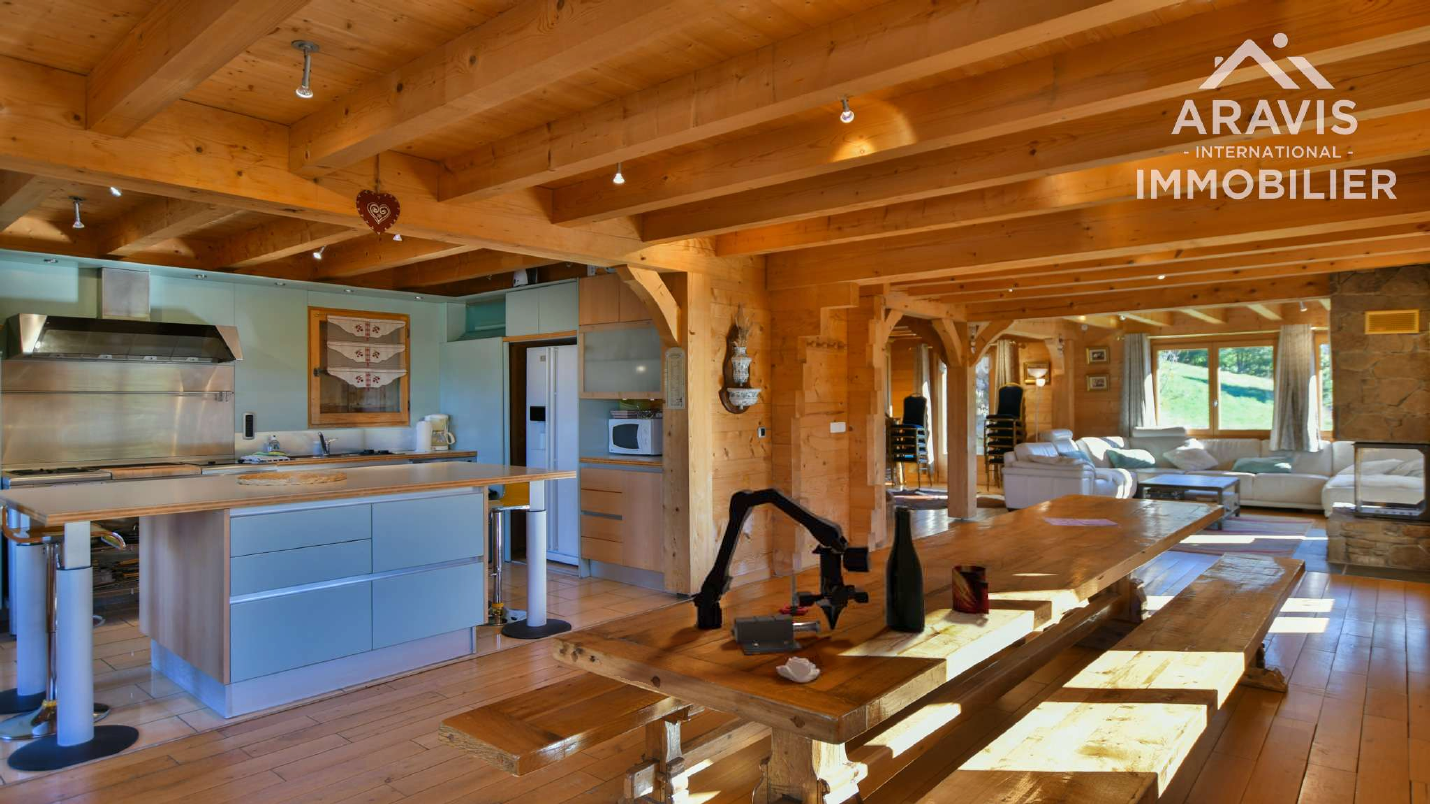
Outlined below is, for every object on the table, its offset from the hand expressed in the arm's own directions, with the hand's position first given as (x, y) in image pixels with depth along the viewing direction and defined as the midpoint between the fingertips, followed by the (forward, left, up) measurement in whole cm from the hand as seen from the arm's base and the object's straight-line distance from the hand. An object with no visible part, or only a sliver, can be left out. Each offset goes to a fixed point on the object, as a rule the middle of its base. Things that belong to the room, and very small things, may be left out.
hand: (832, 629), depth 211 cm
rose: (-16, -28, -2) cm, 32 cm away
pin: (-12, 0, -1) cm, 12 cm away
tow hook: (-4, +26, -2) cm, 26 cm away
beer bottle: (+21, +2, -2) cm, 21 cm away
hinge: (-18, 0, -1) cm, 18 cm away
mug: (+47, +14, -2) cm, 49 cm away
